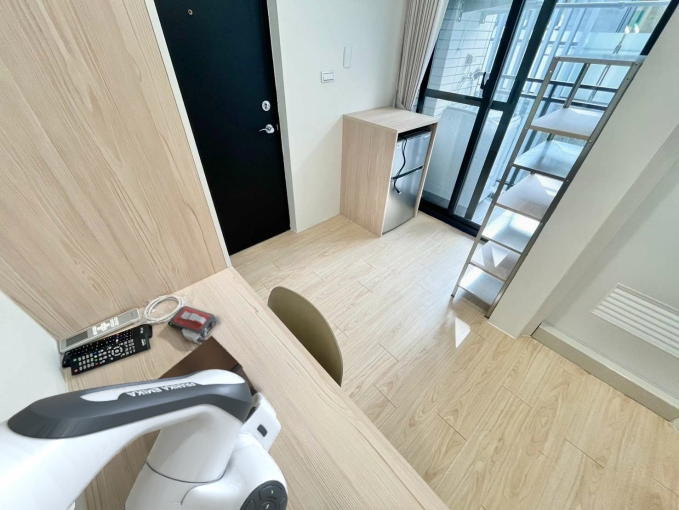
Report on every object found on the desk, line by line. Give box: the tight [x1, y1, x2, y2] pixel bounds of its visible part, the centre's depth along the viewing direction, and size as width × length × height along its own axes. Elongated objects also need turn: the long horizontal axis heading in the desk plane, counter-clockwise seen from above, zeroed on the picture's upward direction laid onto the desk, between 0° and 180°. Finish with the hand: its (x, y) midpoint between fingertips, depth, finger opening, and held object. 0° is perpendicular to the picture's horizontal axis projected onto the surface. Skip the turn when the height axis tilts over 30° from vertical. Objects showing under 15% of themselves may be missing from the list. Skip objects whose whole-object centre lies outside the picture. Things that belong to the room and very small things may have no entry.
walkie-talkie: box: [167, 305, 217, 344], centre depth 79 cm, size 9×4×20 cm
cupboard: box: [157, 335, 258, 396], centre depth 60 cm, size 16×11×16 cm
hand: (217, 432), depth 55 cm, fingers closed
